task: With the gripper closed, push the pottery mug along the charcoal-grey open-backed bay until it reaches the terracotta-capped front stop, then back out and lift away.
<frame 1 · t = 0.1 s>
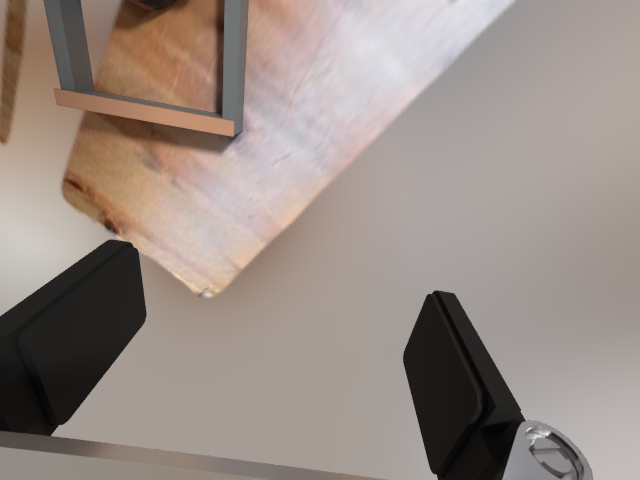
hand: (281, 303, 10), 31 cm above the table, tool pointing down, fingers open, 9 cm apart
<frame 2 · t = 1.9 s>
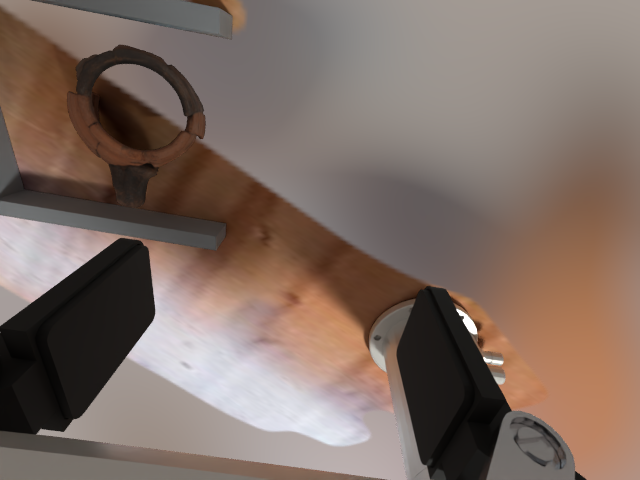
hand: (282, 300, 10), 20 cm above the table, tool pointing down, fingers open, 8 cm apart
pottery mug: (155, 127, 28), on the table
bay: (115, 123, 27), on the table
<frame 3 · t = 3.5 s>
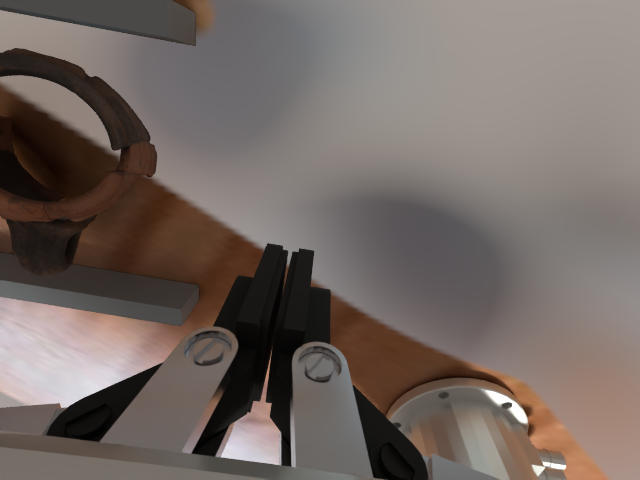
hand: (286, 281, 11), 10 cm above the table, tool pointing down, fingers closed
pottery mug: (92, 160, 20), on the table
bay: (45, 159, 20), on the table
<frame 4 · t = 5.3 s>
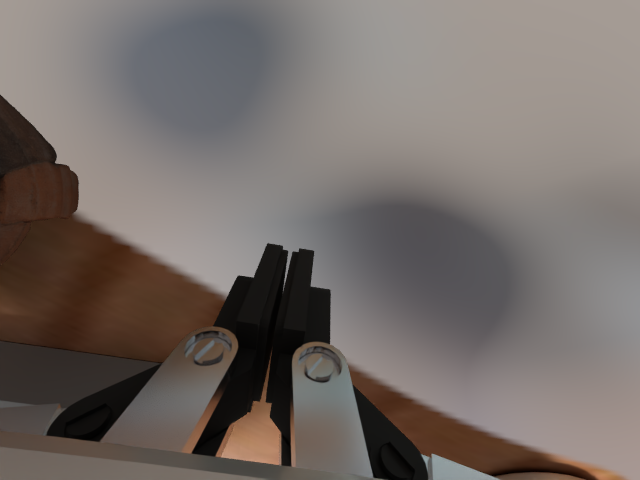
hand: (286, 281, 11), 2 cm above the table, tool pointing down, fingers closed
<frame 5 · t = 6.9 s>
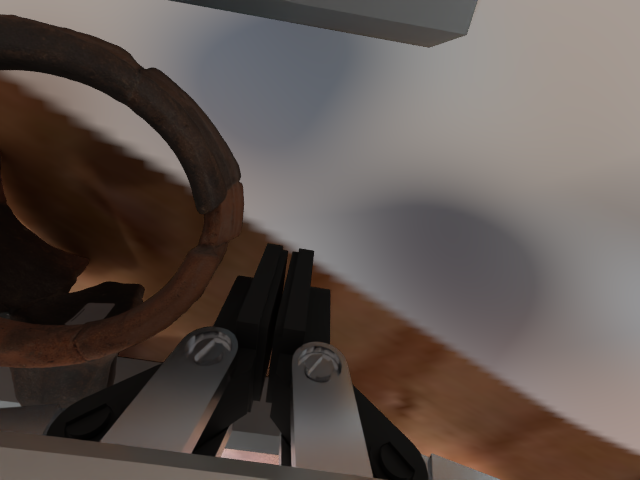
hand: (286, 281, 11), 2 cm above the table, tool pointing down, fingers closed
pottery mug: (132, 206, 13), on the table, touching gripper
bay: (134, 228, 13), on the table
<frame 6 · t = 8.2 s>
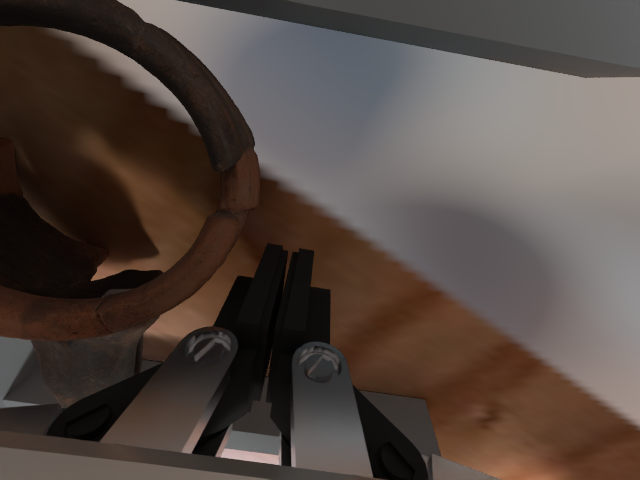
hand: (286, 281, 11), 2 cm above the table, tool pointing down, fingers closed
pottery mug: (147, 191, 12), on the table, touching gripper
bay: (254, 246, 13), on the table
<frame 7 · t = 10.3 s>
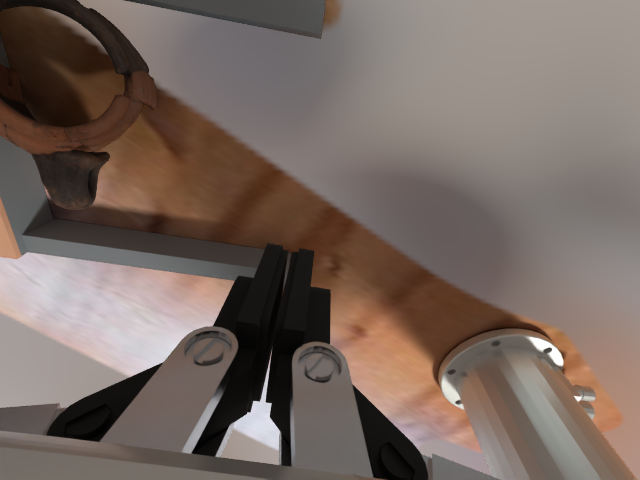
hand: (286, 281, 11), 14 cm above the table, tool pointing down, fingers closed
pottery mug: (97, 104, 22), on the table
bay: (168, 141, 22), on the table
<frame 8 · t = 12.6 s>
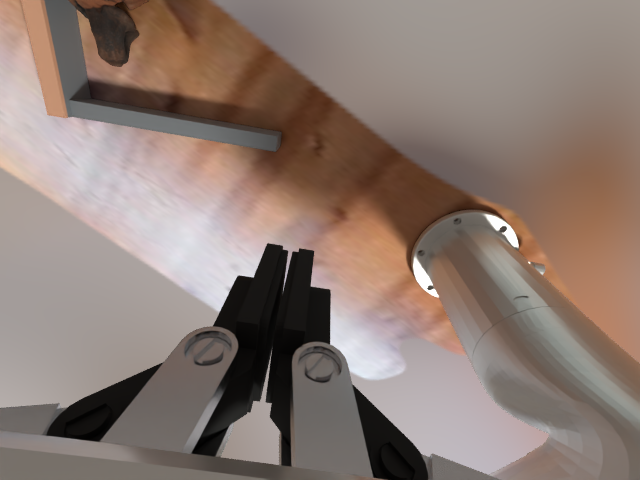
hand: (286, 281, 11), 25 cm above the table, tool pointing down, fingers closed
bay: (184, 24, 29), on the table
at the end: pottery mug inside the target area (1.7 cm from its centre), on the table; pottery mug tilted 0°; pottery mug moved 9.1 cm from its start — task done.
